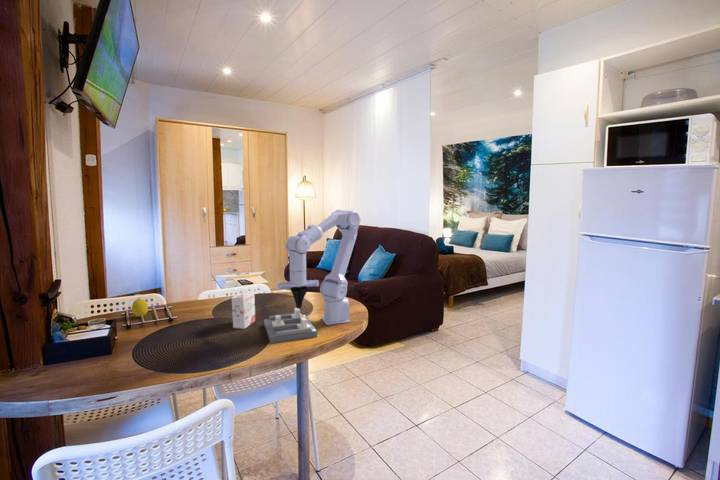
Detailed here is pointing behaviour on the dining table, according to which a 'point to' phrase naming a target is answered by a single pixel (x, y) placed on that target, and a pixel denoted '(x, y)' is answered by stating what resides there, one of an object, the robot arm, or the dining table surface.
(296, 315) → the tab
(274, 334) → the switch panel
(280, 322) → the tab
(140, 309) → the lemon
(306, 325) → the tab
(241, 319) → the ink cartridge box
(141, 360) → the dining table surface
